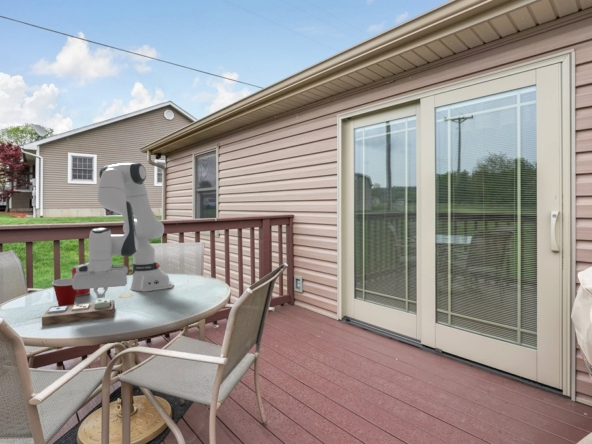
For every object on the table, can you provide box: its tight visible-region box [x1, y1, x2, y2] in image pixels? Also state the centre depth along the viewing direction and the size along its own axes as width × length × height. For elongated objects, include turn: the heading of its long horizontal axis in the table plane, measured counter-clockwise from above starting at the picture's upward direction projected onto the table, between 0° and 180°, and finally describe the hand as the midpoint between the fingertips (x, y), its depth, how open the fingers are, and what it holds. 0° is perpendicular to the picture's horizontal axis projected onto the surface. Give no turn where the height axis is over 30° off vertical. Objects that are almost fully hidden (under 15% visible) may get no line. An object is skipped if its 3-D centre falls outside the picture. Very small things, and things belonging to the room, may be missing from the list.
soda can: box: [71, 264, 91, 297], centre depth 172 cm, size 8×8×15 cm
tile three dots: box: [72, 303, 90, 311], centre depth 140 cm, size 6×6×3 cm
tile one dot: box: [48, 306, 67, 314], centre depth 136 cm, size 6×6×3 cm
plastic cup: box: [51, 277, 77, 306], centre depth 152 cm, size 11×11×12 cm
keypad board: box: [41, 299, 116, 327], centre depth 140 cm, size 24×14×4 cm, turn 116°
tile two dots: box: [94, 298, 112, 308], centre depth 143 cm, size 6×6×3 cm
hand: (100, 297), depth 142 cm, fingers closed
